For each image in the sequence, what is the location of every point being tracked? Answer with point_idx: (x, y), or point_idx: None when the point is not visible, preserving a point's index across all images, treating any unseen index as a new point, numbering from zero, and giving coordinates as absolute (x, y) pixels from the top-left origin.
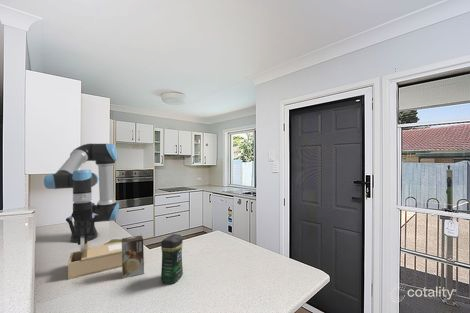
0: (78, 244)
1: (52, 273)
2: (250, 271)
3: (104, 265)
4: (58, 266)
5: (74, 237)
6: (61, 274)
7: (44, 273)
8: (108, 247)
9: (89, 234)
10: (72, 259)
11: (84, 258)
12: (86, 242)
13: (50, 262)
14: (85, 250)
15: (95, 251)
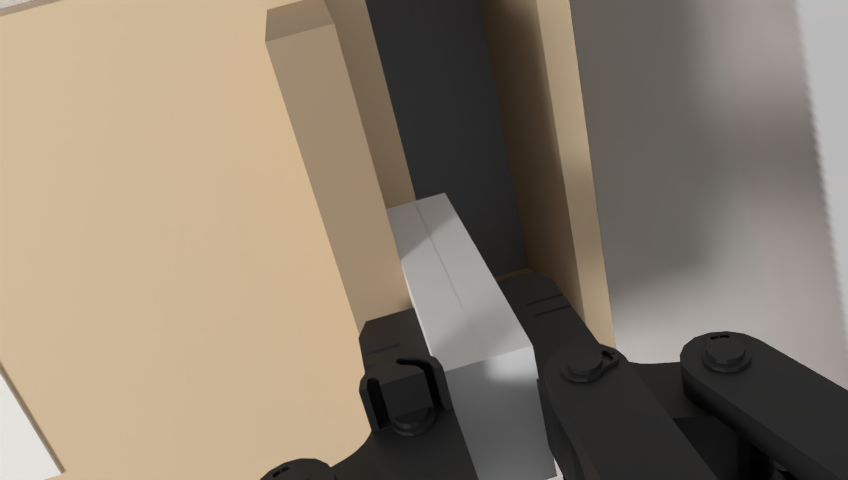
0: (530, 275)
1: (702, 154)
2: None
3: (2, 13)
4: (680, 322)
5: (705, 339)
6: (599, 90)
7: (780, 182)
8: (10, 401)
9: (305, 474)
10: (554, 262)
11: None
12: (372, 336)
13: None
14: (296, 27)
15: (205, 272)
